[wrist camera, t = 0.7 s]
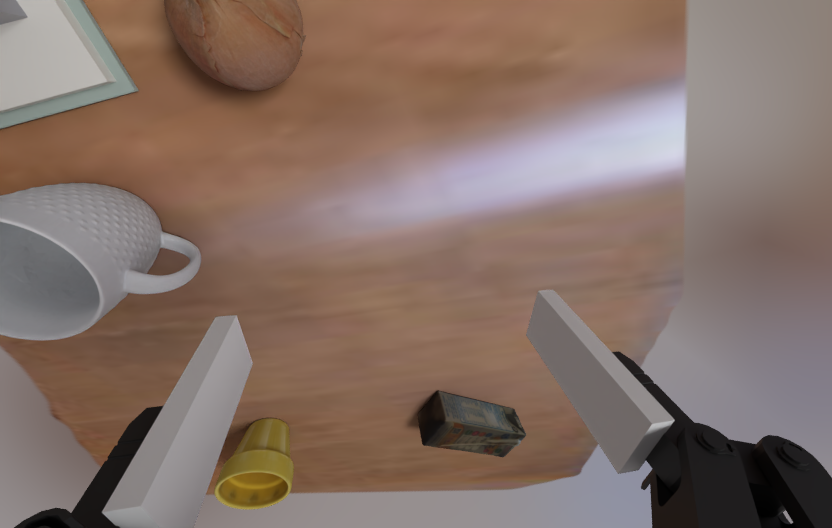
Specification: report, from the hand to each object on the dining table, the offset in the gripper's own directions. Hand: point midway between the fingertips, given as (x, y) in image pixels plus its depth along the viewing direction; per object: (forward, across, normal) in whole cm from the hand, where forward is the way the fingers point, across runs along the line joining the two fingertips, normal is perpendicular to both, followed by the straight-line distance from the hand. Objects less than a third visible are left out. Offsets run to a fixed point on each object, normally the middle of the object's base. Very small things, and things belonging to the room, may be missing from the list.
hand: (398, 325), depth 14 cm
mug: (+26, -26, -5) cm, 37 cm away
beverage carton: (+26, +16, -46) cm, 55 cm away
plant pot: (+25, -20, -43) cm, 54 cm away
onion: (+26, -10, +13) cm, 31 cm away
